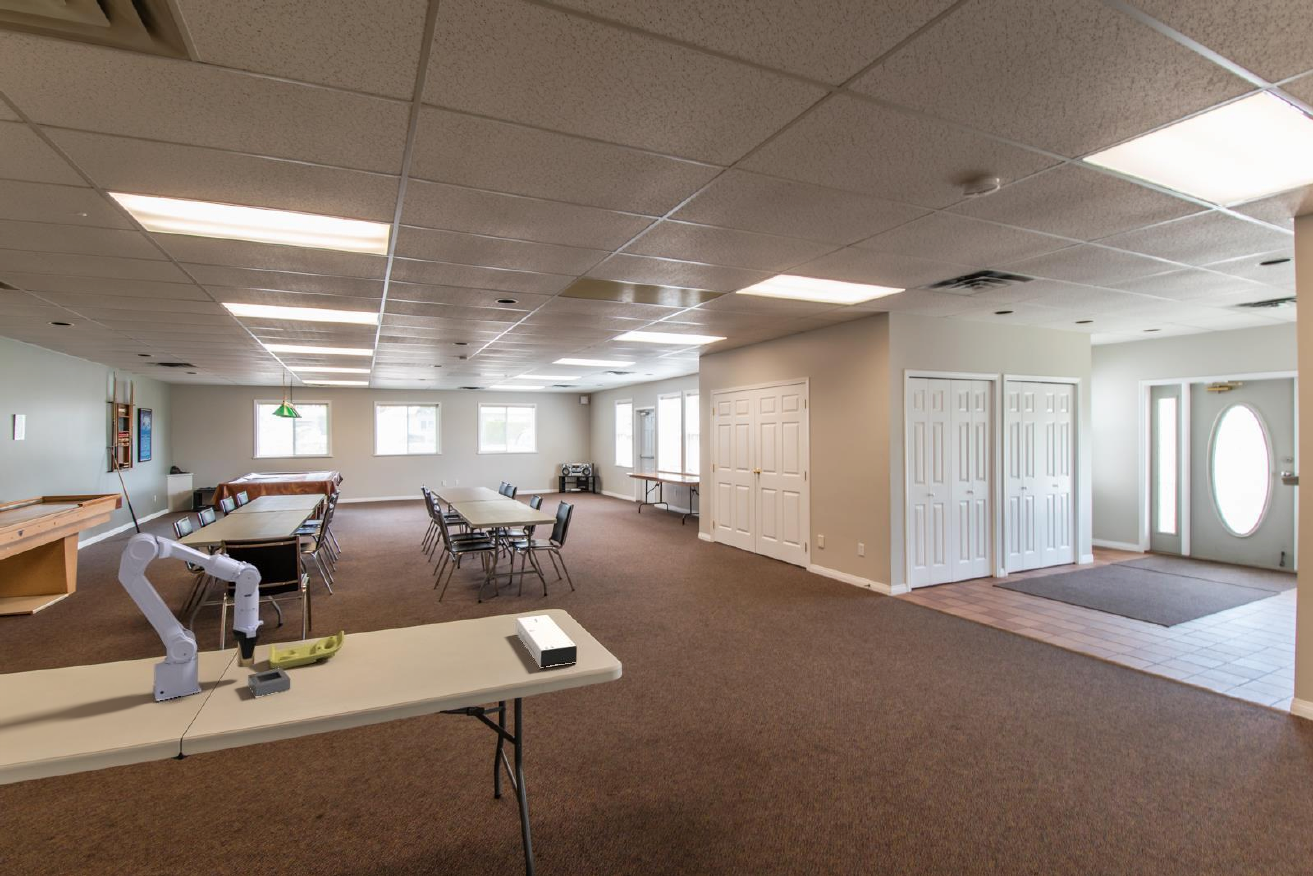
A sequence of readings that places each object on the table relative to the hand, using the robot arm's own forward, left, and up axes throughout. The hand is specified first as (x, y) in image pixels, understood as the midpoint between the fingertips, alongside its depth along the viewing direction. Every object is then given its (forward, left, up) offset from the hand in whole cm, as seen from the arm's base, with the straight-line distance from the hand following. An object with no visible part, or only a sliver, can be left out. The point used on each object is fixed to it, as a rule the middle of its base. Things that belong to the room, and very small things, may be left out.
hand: (245, 656), depth 174 cm
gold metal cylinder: (0, 0, -2) cm, 2 cm away
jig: (+4, -11, -6) cm, 13 cm away
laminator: (+78, -34, -7) cm, 85 cm away
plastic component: (+17, +4, -7) cm, 18 cm away
